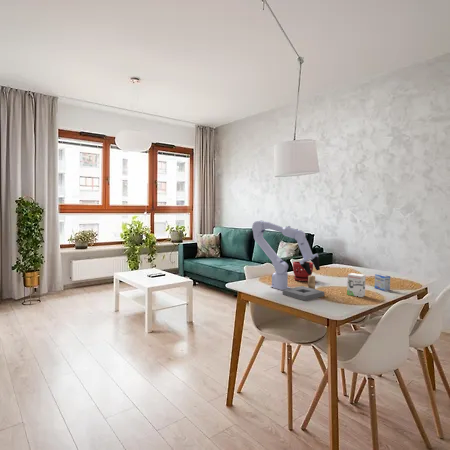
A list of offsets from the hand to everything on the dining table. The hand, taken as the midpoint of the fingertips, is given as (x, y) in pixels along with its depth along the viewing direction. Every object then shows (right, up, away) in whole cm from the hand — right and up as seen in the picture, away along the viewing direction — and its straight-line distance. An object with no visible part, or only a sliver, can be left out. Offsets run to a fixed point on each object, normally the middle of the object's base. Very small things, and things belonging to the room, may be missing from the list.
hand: (314, 272), depth 201 cm
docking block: (-8, -12, -9) cm, 17 cm away
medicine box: (+42, -11, +5) cm, 44 cm away
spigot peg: (-1, -11, +4) cm, 12 cm away
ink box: (+21, -12, -9) cm, 26 cm away
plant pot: (0, -10, +31) cm, 32 cm away
